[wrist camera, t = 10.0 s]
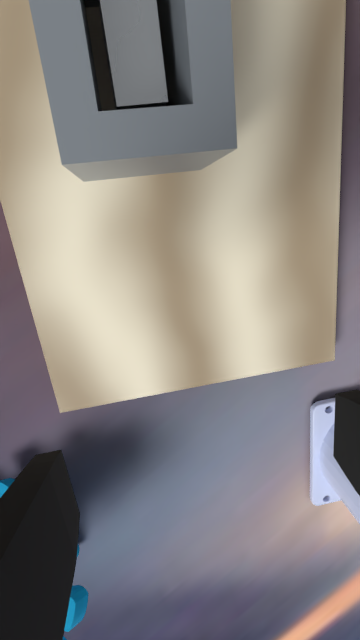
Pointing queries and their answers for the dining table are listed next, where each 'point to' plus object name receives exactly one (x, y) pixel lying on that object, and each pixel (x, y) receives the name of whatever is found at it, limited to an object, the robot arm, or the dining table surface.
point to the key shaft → (134, 53)
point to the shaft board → (184, 220)
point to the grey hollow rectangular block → (141, 123)
